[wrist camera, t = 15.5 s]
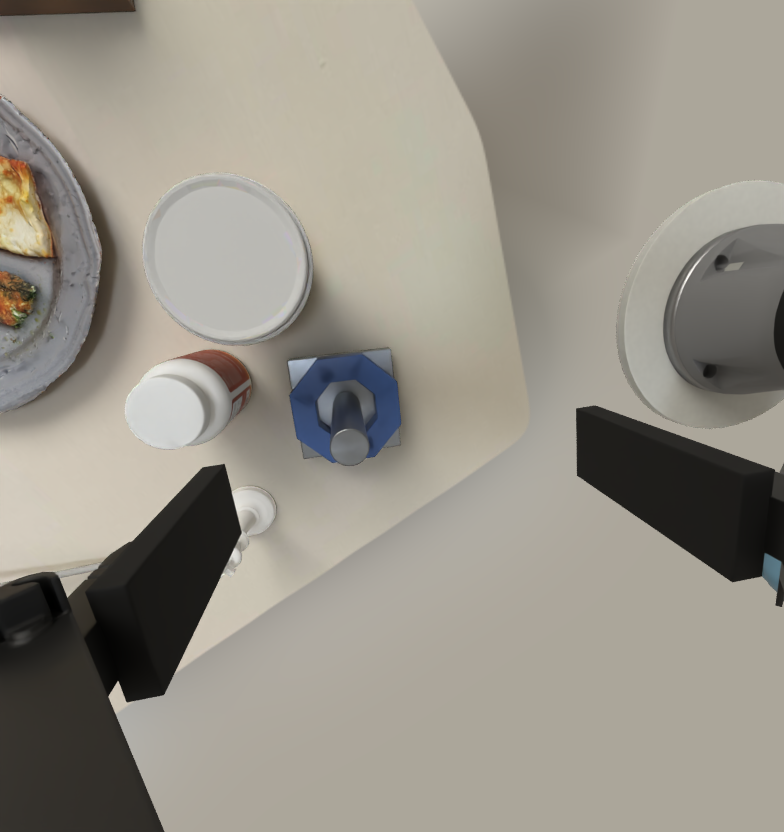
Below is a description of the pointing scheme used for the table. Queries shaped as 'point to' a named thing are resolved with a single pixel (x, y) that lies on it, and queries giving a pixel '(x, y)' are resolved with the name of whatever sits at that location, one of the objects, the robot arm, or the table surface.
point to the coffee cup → (227, 259)
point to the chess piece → (250, 519)
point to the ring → (336, 371)
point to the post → (345, 409)
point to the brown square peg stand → (63, 6)
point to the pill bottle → (188, 399)
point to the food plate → (41, 261)
